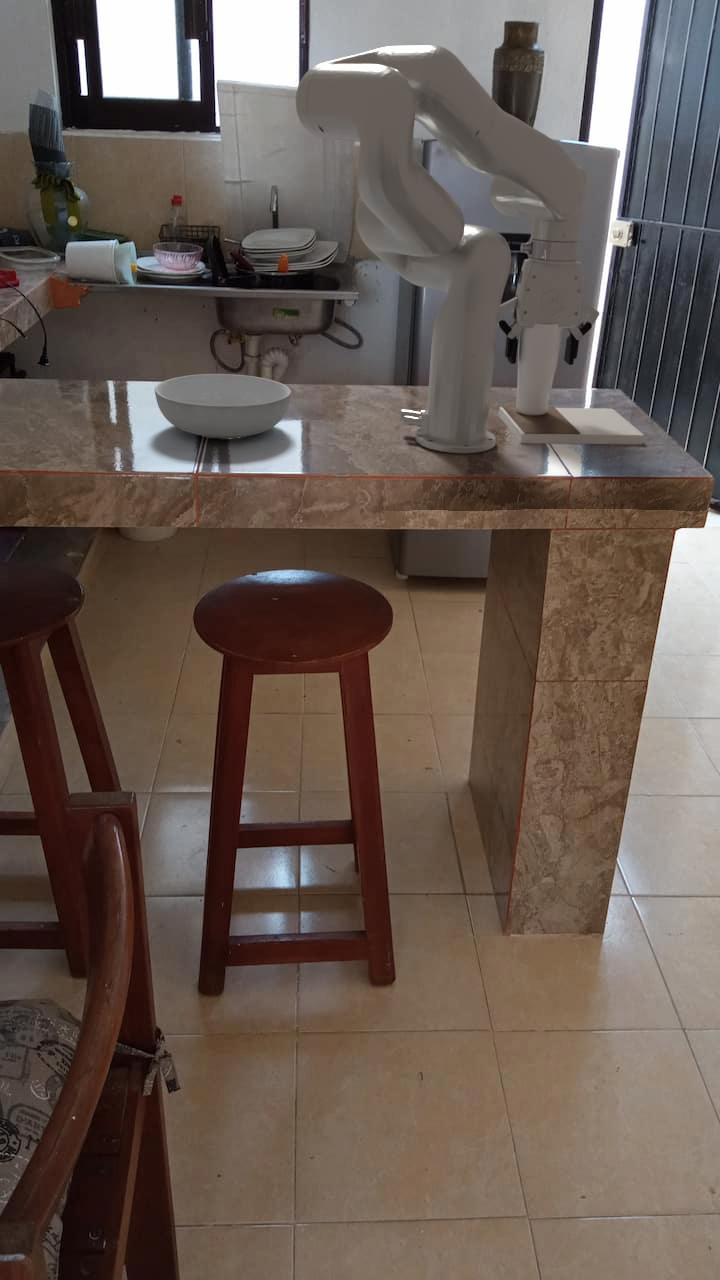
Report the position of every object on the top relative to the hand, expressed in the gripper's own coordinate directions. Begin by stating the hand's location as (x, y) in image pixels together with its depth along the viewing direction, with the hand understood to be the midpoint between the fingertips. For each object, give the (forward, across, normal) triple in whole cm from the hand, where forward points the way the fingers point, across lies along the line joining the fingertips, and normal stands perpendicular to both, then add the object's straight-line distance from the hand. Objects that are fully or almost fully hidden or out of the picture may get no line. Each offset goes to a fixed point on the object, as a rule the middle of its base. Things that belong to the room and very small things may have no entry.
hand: (539, 362), depth 164 cm
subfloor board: (+10, +5, -4) cm, 12 cm away
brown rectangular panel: (+10, 0, -4) cm, 11 cm away
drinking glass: (+8, 0, 0) cm, 9 cm away
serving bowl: (+10, -52, -7) cm, 53 cm away
